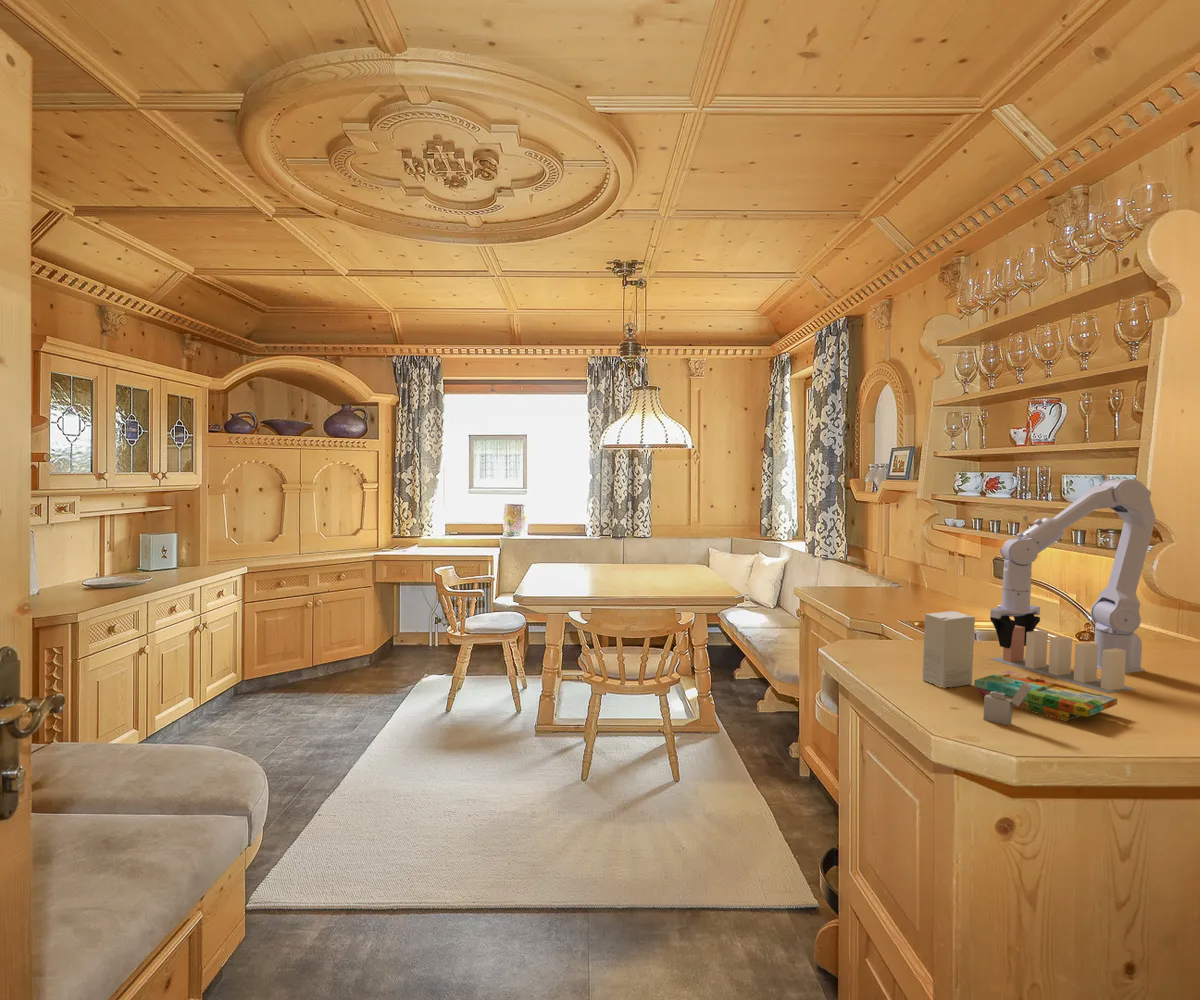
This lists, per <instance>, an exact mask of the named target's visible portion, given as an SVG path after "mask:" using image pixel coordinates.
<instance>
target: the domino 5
mask: <svg viewBox="0 0 1200 1000" xmlns="http://www.w3.org/2000/svg"><path fill="white" fill-rule="evenodd" d="M1125 664H1126V650H1121V649H1117V648H1114V649H1106V650H1103V651H1102V669H1100V671H1101V672H1100V673H1101V674H1100V679H1101V688H1103V689H1107V690H1110V691H1112V690H1118V689H1124V686H1125V678H1126V673H1125Z"/></svg>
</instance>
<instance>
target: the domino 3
mask: <svg viewBox="0 0 1200 1000" xmlns="http://www.w3.org/2000/svg"><path fill="white" fill-rule="evenodd" d="M1072 649H1073V638H1072V637H1069V636H1065V635H1062V636H1053V637H1050V638H1049V657H1048V665H1049V672H1048V673H1050V674H1054V675H1057V676H1058V675H1064V674H1070V673H1071V671H1072V669H1071V668H1072V667H1071V666H1072Z"/></svg>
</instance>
